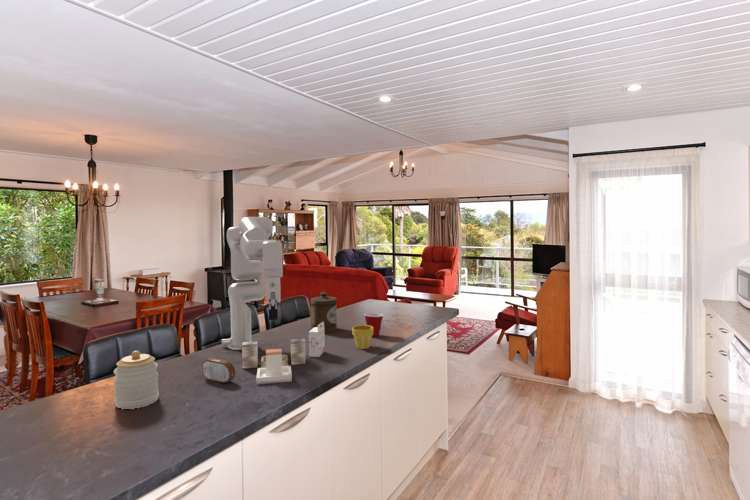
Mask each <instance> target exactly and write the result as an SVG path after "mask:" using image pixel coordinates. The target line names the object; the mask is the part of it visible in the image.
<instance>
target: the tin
mask: <svg viewBox="0 0 750 500" xmlns="http://www.w3.org/2000/svg"><path fill="white" fill-rule="evenodd" d="M201 370H202V374H203V376H204V378H206V379H207V380H209V381H213V382H218V383H220V384H221V383H222V384H227V383H229V382H231V381H233V380H234V379H235V377H236V369H235V367H234V365H233V363H232V362H231V361H229V360H228V359H224V358H223V359H222V358H217V357H213V356H212V357H208V359H205V360H204V361H203V362H202V364H201Z"/></svg>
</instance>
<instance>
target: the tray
mask: <svg viewBox="0 0 750 500" xmlns="http://www.w3.org/2000/svg"><path fill="white" fill-rule="evenodd" d="M292 373H293V372H292V365H288V366H282V375H276V376H266V368H261V367H257V372H256V379H255V380H256V383H255V384H256V385H267V384H278V383H289V382H290V383H291V382H292V381H293V378H292V377H293V374H292Z"/></svg>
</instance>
